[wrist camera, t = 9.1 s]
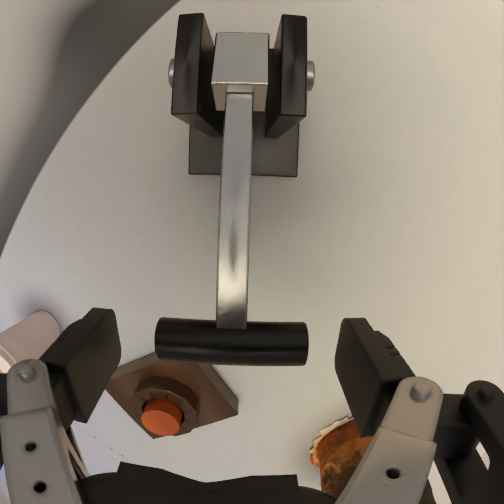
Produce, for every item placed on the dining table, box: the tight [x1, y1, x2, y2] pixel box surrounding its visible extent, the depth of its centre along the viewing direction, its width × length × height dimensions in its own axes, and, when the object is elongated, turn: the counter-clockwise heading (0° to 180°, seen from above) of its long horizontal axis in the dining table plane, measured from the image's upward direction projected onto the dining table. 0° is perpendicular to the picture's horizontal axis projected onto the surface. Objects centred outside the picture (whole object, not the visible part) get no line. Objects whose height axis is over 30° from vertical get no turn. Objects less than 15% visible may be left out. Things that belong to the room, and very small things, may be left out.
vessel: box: [309, 417, 436, 504], centre depth 23 cm, size 14×14×20 cm
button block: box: [105, 352, 239, 439], centre depth 28 cm, size 11×9×4 cm
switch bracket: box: [168, 13, 315, 177], centre depth 16 cm, size 10×8×13 cm
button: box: [141, 398, 182, 436], centre depth 25 cm, size 4×4×2 cm
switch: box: [155, 32, 309, 366], centre depth 12 cm, size 13×6×2 cm, turn 178°
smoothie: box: [0, 311, 60, 373], centre depth 21 cm, size 6×6×14 cm
